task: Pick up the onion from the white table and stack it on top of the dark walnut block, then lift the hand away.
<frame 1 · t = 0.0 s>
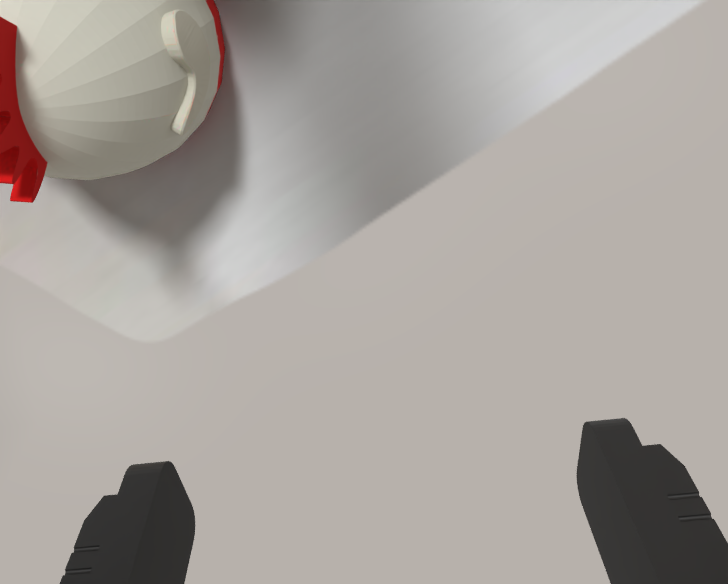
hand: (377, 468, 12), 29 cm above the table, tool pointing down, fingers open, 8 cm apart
kitchen timer: (102, 36, 35), on the table
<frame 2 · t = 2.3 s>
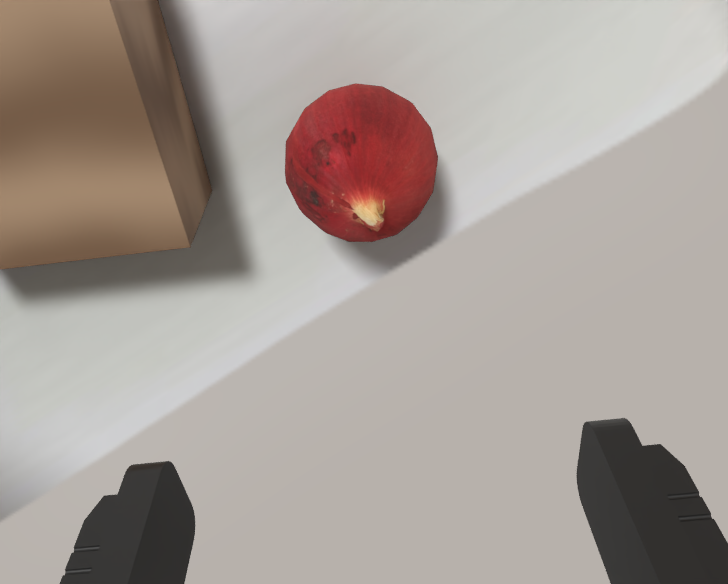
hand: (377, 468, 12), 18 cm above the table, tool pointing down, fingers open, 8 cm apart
walnut base: (28, 74, 25), on the table
onion: (358, 127, 27), on the table
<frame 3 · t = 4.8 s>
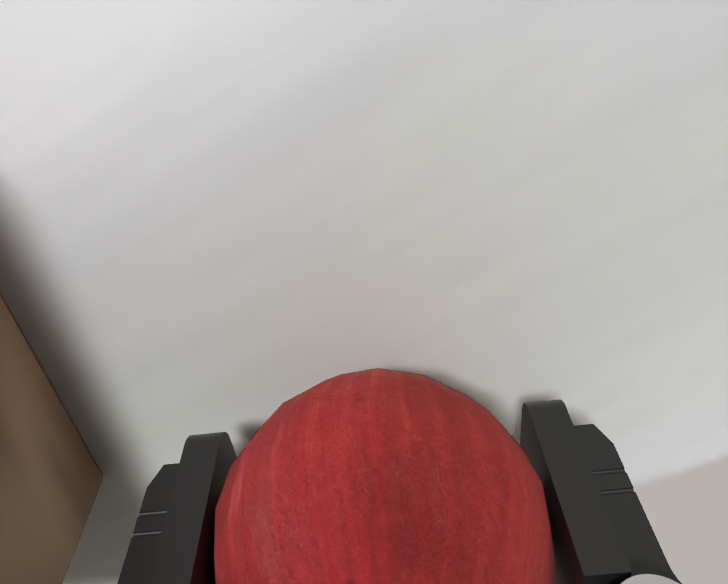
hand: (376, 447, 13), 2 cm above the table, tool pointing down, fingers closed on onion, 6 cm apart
onion: (374, 385, 14), on the table, touching gripper
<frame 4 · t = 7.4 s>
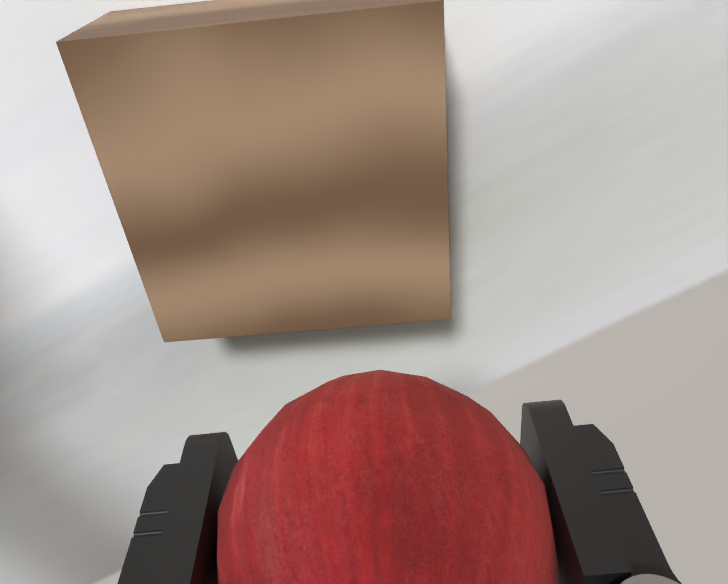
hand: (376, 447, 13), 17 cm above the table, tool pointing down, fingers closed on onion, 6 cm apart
walnut base: (293, 148, 26), on the table
onion: (375, 386, 14), point 15 cm above the table, touching gripper
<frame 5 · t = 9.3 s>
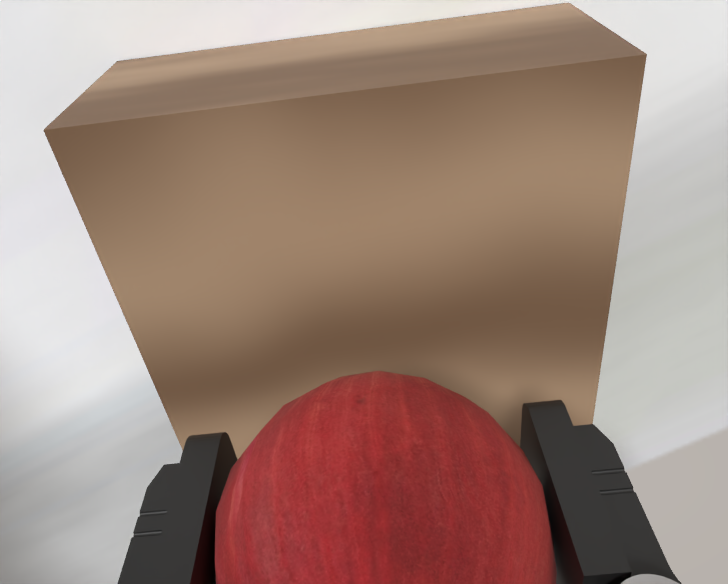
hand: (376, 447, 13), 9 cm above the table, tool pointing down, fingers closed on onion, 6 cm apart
walnut base: (365, 229, 20), on the table
onion: (374, 386, 14), point 7 cm above the table, touching gripper
when the fingers open (8 cm above the table, at t = 10.4 s): onion drops 1 cm, resting on walnut base.
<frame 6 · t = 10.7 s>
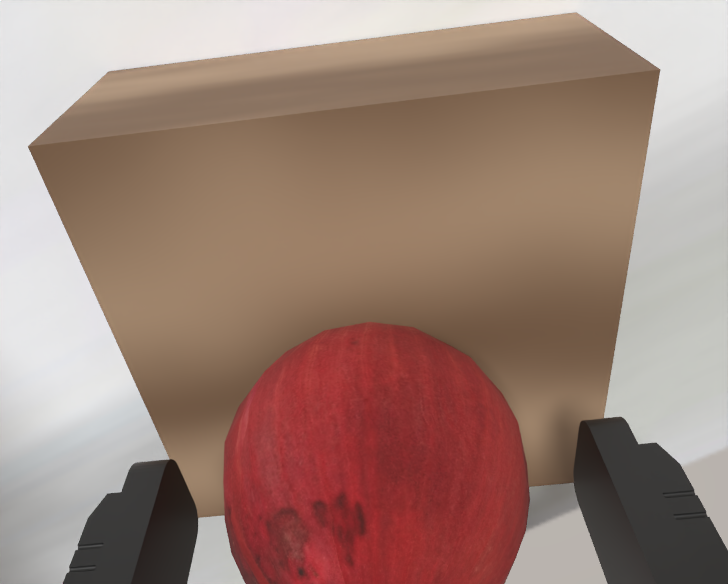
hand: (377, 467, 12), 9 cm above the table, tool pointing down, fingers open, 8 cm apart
walnut base: (365, 243, 19), on the table
onion: (370, 343, 15), point 5 cm above the table, touching walnut base
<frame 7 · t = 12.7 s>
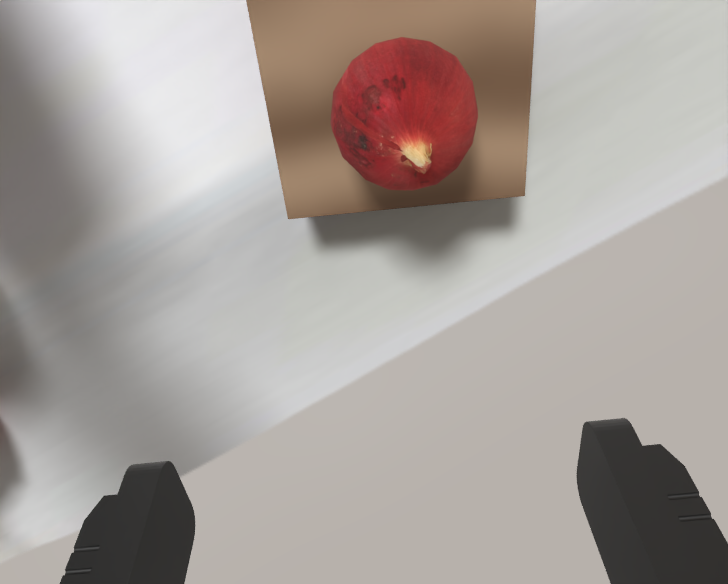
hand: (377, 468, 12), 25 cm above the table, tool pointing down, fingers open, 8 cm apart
walnut base: (391, 59, 32), on the table
onion: (397, 86, 28), point 5 cm above the table, touching walnut base
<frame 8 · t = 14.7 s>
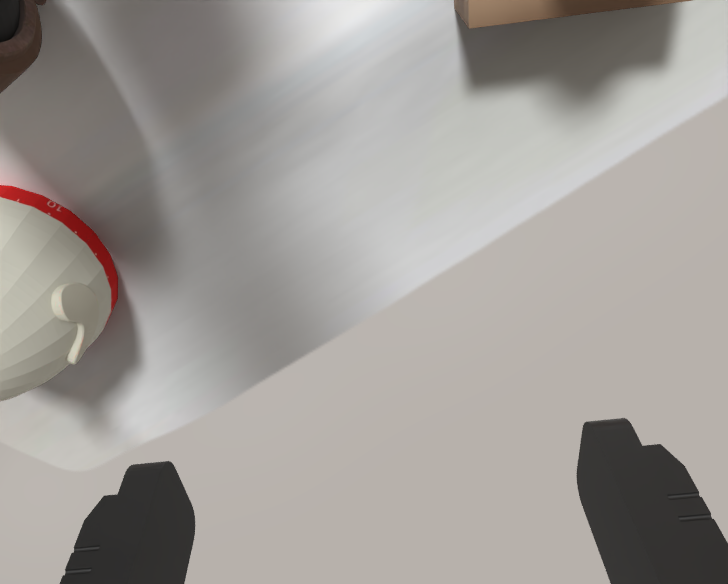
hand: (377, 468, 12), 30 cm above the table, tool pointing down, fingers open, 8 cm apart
kitchen timer: (21, 269, 45), on the table
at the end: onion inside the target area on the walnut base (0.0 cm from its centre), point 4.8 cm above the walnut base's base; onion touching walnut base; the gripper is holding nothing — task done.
